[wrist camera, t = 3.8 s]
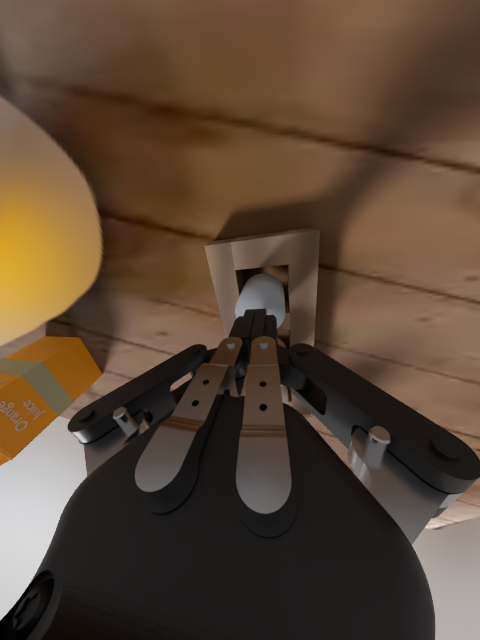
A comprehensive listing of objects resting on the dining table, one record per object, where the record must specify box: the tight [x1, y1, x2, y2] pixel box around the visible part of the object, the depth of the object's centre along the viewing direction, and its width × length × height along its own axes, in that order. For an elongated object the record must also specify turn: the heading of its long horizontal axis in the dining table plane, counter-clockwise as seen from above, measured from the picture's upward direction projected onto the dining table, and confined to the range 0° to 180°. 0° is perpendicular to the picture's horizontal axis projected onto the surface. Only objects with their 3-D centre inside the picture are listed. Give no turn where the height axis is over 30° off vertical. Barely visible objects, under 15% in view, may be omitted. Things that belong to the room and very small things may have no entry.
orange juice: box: [0, 336, 102, 465], centre depth 26 cm, size 8×9×20 cm
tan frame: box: [205, 227, 320, 414], centre depth 23 cm, size 10×24×3 cm, turn 9°
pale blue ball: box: [235, 274, 285, 328], centre depth 17 cm, size 4×4×4 cm
